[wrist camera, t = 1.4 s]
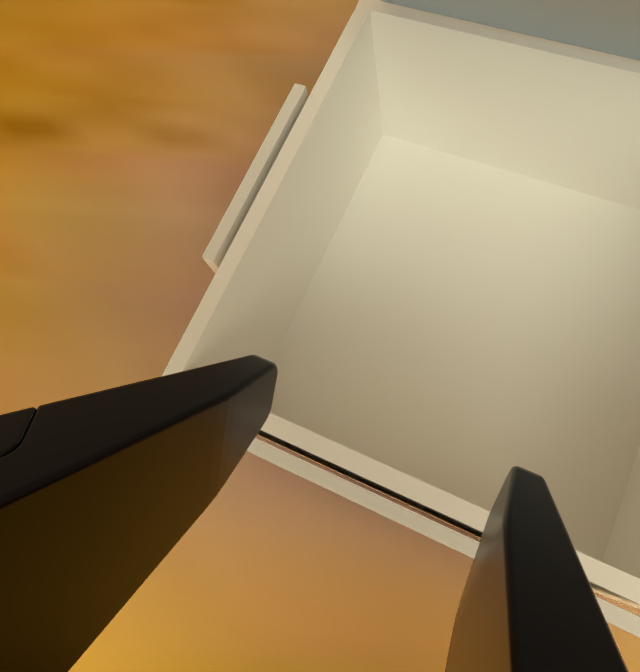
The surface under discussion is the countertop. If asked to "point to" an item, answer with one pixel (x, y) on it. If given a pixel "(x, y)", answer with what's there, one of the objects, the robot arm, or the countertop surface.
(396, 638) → the countertop surface
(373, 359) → the carton
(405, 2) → the far flap
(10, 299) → the countertop surface
